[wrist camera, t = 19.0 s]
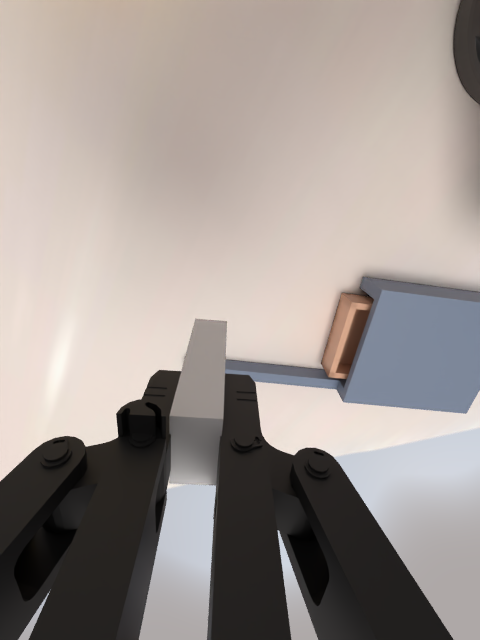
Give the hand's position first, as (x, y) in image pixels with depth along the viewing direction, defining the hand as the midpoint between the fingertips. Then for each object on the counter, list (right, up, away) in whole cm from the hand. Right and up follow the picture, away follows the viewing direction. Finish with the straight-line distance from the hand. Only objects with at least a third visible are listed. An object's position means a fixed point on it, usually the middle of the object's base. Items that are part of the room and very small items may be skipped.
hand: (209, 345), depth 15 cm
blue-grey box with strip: (+15, 0, +27) cm, 31 cm away
